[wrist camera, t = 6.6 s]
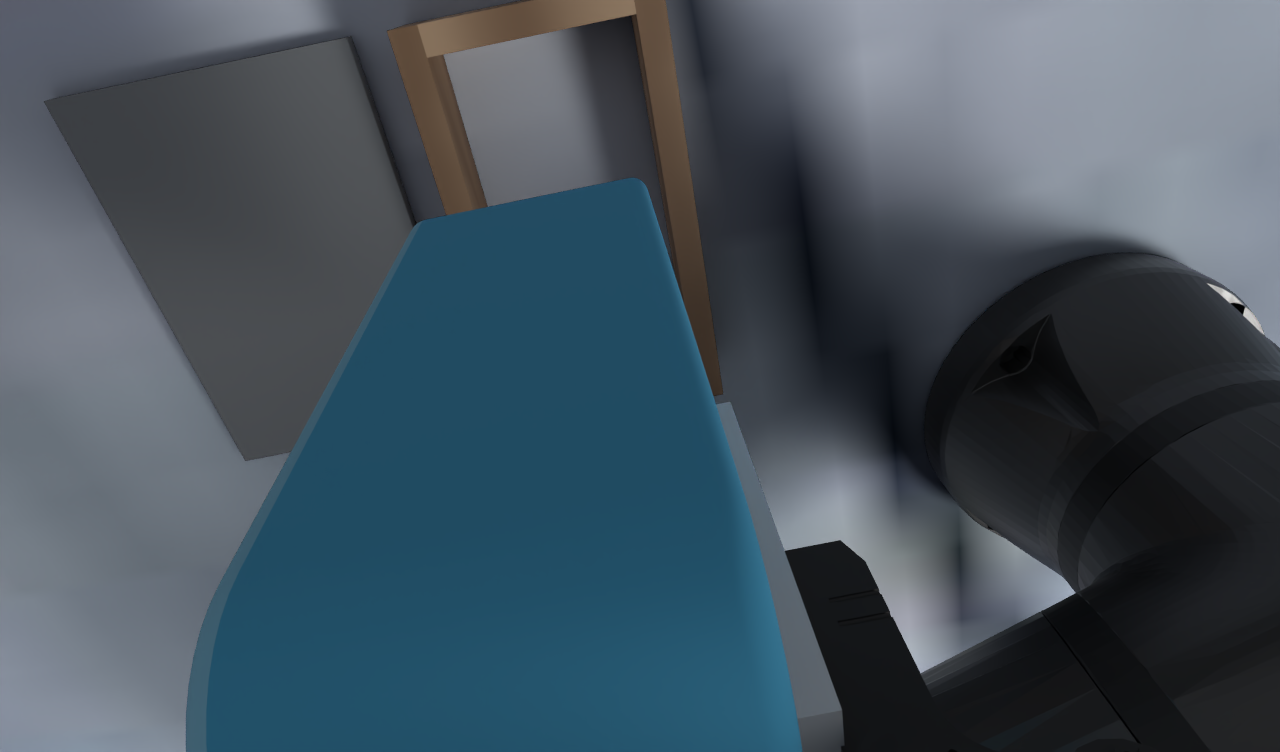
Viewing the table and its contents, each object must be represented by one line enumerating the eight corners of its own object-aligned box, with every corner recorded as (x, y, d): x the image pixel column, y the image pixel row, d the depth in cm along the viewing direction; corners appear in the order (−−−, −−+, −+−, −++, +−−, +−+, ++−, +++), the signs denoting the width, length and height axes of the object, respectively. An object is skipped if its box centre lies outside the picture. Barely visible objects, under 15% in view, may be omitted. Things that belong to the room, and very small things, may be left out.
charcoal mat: (350, 36, 26) (346, 37, 26) (479, 407, 34) (478, 414, 33) (54, 98, 26) (43, 101, 26) (250, 453, 34) (245, 460, 34)
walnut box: (652, -28, 26) (661, -28, 23) (711, 361, 34) (723, 394, 31) (405, 24, 26) (386, 31, 23) (521, 399, 34) (517, 435, 31)
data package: (712, 570, 21) (851, 1175, 11) (559, 599, 21) (550, 1227, 11) (638, 154, 15) (797, 646, 4) (420, 199, 15) (89, 781, 5)
